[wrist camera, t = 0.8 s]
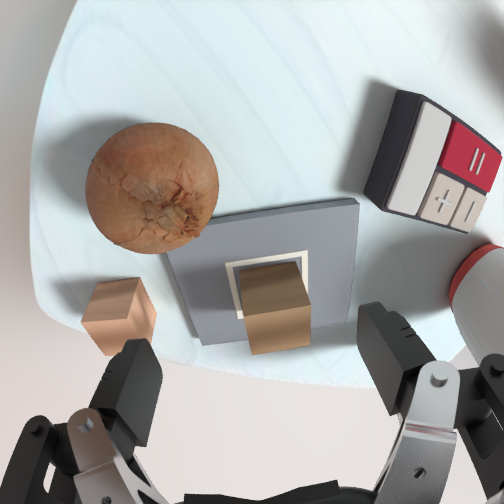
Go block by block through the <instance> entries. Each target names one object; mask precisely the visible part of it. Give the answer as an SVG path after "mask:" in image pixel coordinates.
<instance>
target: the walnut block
mask: <svg viewBox="0 0 504 504" xmlns="http://www.w3.org/2000/svg"><path fill="white" fill-rule="evenodd" d="M239 275H240V286H241V297H242V308H243V317H244V322H245V326H246V331H247V335H248V340H249V344H250V349H251V353H252V355H255V354H262V353H268V352H274V351H280V350H286V349H292V348H297V347H303V346H308V345H310V331H311V303H310V300H309V297H308V294H307V291H306V288H305V285H304V283H303V280H302V277H301V274H300V271H299V268H298V266H297V263H296V261H294V262H288V263H282V264H276V265H269V266H263V267H257V268H250V269H244V270H239Z"/></svg>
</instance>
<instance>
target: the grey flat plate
mask: <svg viewBox="0 0 504 504" xmlns="http://www.w3.org/2000/svg"><path fill="white" fill-rule="evenodd" d="M359 206H360V204H359V203H358V202H357V201H356V199H355V198H354V199H346V200H337V201H329V202H321V203H314V204H306V205H298V206H291V207H284V208H277V209H270V210H263V211H257V212H250V213H244V214H237V215H231V216H225V217H219V218H213V219H210V220H209V222H208V223H207V225H206V226H205V228H204V229H203V231H202V232H201V233H200V236H199V237H197V238H194V239H193V240H191V241H190V242H188V243H187V244H185V245H184V246H182V247H179V248H177V249H175V250H172V251H169V252H167V255H168V258H169V261H170V264H171V267H172V270H173V272H174V275H175V278H176V281H177V283H178V286H179V289H180V291H181V294H182V297H183V299H184V302H185V304H186V307H187V309H188V312H189V314H190V317H191V319H192V322H193V324H194V327H195V329H196V332H197V334H198V336H199V339H200V341H201V344H202V346H203V345H212V344H221V343H229V342H236V341H244V340H248V335H247V331H246V326H245V322H244V317H243V308H242V297H241V286H240V275H239V270H244V269H250V268H257V267H263V266H269V265H276V264H282V263H288V262H294V261H296V263H297V266H298V268H299V271H300V274H301V277H302V280H303V283H304V285H305V288H306V291H307V294H308V297H309V300H310V303H311V329H315V328H320V327H325V326H330V325H335V324H339V323H344V322H347V316H348V309H349V303H350V296H351V289H352V281H353V273H354V265H355V255H356V245H357V234H358V222H359Z"/></svg>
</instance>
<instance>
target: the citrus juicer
mask: <svg viewBox="0 0 504 504" xmlns="http://www.w3.org/2000/svg"><path fill="white" fill-rule="evenodd" d="M449 301H450V305H451V309H452V312H453V314H454V317H455V321H456V324H457V326H458V329H459V331H460V334H461V336H462V337H463V339H464V341H465V343H466V345H467V347H468V348H469V350H470V351H471V353H472V355H473V357H474V358H475V360H476V362H477V363H478V365H479V366H480V363H481V361H482V359H483V358H484V357H485V356H487V355H489V354H493V353H497V354H501V355H504V248H503V247H500V246H497V245H493V244H487V245H484V246H482V247H480V248H478V249H477V250H475V251H473V252H472V253H471V254H470V256H469V257H468V258H467V259H466V260H465V261H464V262H463V264H462V265H461V266H460V268H459V269H458V271H457V272H456V274H455V276H454V278H453V280H452V282H451V285H450V288H449Z"/></svg>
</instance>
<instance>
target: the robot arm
mask: <svg viewBox="0 0 504 504" xmlns="http://www.w3.org/2000/svg"><path fill="white" fill-rule="evenodd" d="M357 346H358V350H359V352H360V354H361V357H362V359H363V361H364V363H365V365H366V367H367V369H368V371H369V373H370V375H371V377H372V379H373V381H374V383H375V385H376V387H377V389H378V392H379V394H380V396H381V398H382V400H383V402H384V404H385V407H386V409H387V411H388V413H389V415H390V416H392V415H394V414H397V413H400V414H401V416H402V418H403V419H402V422H401V425H400V428H399V430H398V433H397V436H396V439H395V441H394V444H393V447H392V449H391V452H390V454H389V457H388V459H387V461H386V464H385V466H384V468H383V470H382V472H381V474H380V476H379V478H378V480H377V482H376V484H375V487H374V489H373V490H372V491H370V490H366V489H362V488H356V487H339V486H338V481H337V480H333V481H329V482H325V483H320V484H315V485H310V486H305V487H299V488H296V489H294V490H291V491H288V492H285V493H283V494H280V495H277V496H274V497H271V498H268V499H264V500H260V501H256V500H249V499H242V498H236V497H231V496H225V495H220V494H214V495H211V494H210V495H209V494H205V495H204V494H184V495H185V496H184V502H179V503H175V504H439V502H440V500H441V497H442V494H443V491H444V488H445V485H446V481H447V478H448V474H449V471H450V467H451V463H452V459H453V455H454V450H455V446H456V441H457V434H456V432H453V429H456V428H457V429H458V431H459V433H460V435H461V438H462V440H463V442H464V444H465V446H466V448H467V451H468V453H469V455H470V457H471V460H472V462H473V464H474V467H475V469H476V472H477V474H478V476H479V479H480V481H481V484H482V487H483V489H484V492H485V495H486V497H487V500H488V501H487V502H486V504H504V355H501V354H497V353H493V354H489V355H487V356H485V357H484V358H483V359H482V361H481V363H480V366H479V367H478V368H471V369H465V370H457V369H456V367H455V366H453V365H452V364H450V363H448V362H445V361H437V360H436V359H435V357H434V356H433V355H432V353H431V352H430V350H429V349H428V348H427V346H426V345H425V344H424V342H423V341H422V340H421V339H420V337H419V336H418V335H416V332H415V331H414V329H413V328H411V326H410V324H409V323H408V322H407V321H406V319H405V318H404V317H403V316H401V315H399V314H397V313H396V312H394V311H391V312H387V311H386V310H385V308H384V307H383V306H382V304H381V303H380V302H378V301H377V302H373V303H369V304H364V305H360V306H359V308H358V323H357ZM162 375H163V374H162V369H161V366H160V364H159V362H158V360H157V358H156V356H155V353H154V351H153V349H152V347H151V345H150V343H149V341H148V340H147V339H146V338H139V339H128V340H127V341H126V342H125V345H124V347H123V349H122V351H121V352H118V353H117V354H116V355H115V356H114V357H113V358H112V359H111V360H110V361H109V364H108V366H107V368H106V370H105V373H104V374H103V376H102V380H101V381H100V383H99V385H98V387H97V389H96V391H95V393H94V396H93V398H92V400H91V402H90V405H89V407H88V408H84V409H81V410H78V411H77V412H75V413H74V414H73V415H72V416H71V417H70V419H69V421H68V422H67V423H61V424H54V425H53V424H52V423H51V422H50V421H49V420H48V419H47V418H46V417H45V416H42V415H39V416H35V417H33V418H31V419H30V420H29V421H28V422H27V423H26V424H25V426H24V428H23V430H22V433H21V435H20V437H19V439H18V442H17V444H16V447H15V449H14V451H13V454H12V456H11V459H10V462H9V464H8V467H7V470H6V472H5V475H4V478H3V481H2V484H1V487H0V504H169V503H168V502H167V501H166V499H165V498H164V497H163V496H162V495H161V494H160V493H159V492H158V491H157V489H156V488H155V486H154V485H153V483H152V482H151V480H150V478H149V477H148V475H147V474H146V472H145V470H144V469H143V467H142V465H141V463H140V462H139V460H138V458H137V456H136V455H135V454H134V453H133V452H134V448H135V446H140V447H146V445H147V441H148V437H149V432H150V428H151V424H152V420H153V416H154V412H155V408H156V403H157V399H158V395H159V392H160V388H161V384H162V378H163V377H162ZM492 411H493V412H494V414H495V416H496V417H497V419H496V417H495V416H494V414H493V412H492ZM497 420H498V421H499V423H500V425H501V426H500V425H499V423H498V421H497ZM501 427H502V428H503V430H502V428H501ZM49 462H50V463H51V464H53V465H54V466H55V467H56V469H55V472H54V475H53V479H52V482H51V486H50V489H49V493H47V492H46V491H45V489H44V486H43V482H44V478H45V475H46V471H47V468H48V465H49Z"/></svg>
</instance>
